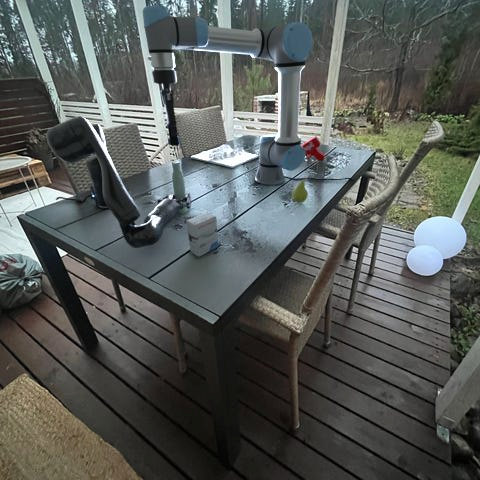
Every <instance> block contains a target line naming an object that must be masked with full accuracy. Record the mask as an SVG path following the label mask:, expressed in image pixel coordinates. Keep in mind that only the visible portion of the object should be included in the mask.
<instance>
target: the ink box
mask: <svg viewBox="0 0 480 480" xmlns="http://www.w3.org/2000/svg"><path fill="white" fill-rule="evenodd" d="M185 222H186V227H187V235H188V243H189V244H188V245H189V251H190V252H191V253H193V254H194V255H195V256H197V257H198V258H200V257H201V256H203V255H205V254H207V253H209V252H211V251H213V250H214V249H216V248H219V238H218V237H219V236H218V224H217V222H218V221H217V216H216V215H214V214H213V213H210V212H208V211H206V212H204V213H202V214H198V215H196V216H194V217H191V218H188V219H186V221H185Z"/></svg>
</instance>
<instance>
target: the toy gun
mask: <svg viewBox="0 0 480 480" xmlns="http://www.w3.org/2000/svg"><path fill="white" fill-rule="evenodd" d="M301 146H302V147H303V148H304V149H305V158H307V159H309V158H311V157H314V159H316V160H317V163H318V164H320V163H321V162H323V161H324V159H325V157H326V155H325V154H324V153H323V152H322V151H320V150H319V149H318V148H319V147H321V140H320V139H319V138H318V137H317V136H316V135H315V136H313V137H312V138H310V139H309V140H307V141H306V142H304V143H303V144H301ZM318 160H319V161H321V162H318Z"/></svg>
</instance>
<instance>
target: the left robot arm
mask: <svg viewBox="0 0 480 480" xmlns="http://www.w3.org/2000/svg"><path fill="white" fill-rule="evenodd" d="M46 142H47V144H48V146H49V148H50V149H51V151H52V152H53V153H54V155H56V156H57V158H59V159H60V160H62V161H63V162H65V163H69V164H74V163H78V162H80V161H82V160H84V159H85V161H84V164H85V167H86V170H87V173H88V177H89V180H90V182H91V184H90V190H91V193H89V194H88V195H86V196H85V197H84V199H79V198H69V197H64V196H58V197H56V198H55V201H58V200H59V199H62V200H65V201H76V202H81V203H84V202H86V201H87V199H88V198H90V199H91V200H94V202H95V206H96V207H98V208H99V209H109V211H110V212H111V214H112V215H113V216H114V218H115V219H116V220H117V222H118V224H119V227H120V230H121V233H122V235H123V238H124V240H125V242H126V243H127V244H128V245H129V246H130V247H131V248H134V249H139V248H145V247H149V246H153V245H155V244H157V243H159V242H160V240H161V238H162V235H163V233H164V229H166V227H167V226H168V225H169V224H171V223H172V222H173V220H174V219H175V218H176V217H177V216H178V215H179V214H180V213H179V211H180V209H182V208H183V207H187V209H188V210H190V209H191V207H192V196H191V193H190V192H186V195H185V196H184V197H180V198H178V199H175V196H174V192H173V193H172V194H165V195H163V196H162V197H159V198H158V199H156V203H157V205H155V207H154V208H153V209H152V211H151V212H150V213H148V214H147V216H146V217H145V218H144V219H143V223H142V224H138V225H137V223H136V221H137V220H138V219H139V218H140V217H141V215H142V214H141V210H140V208H139V207H138V205H137V203H136V202H135V200H134V199H133V197H132V195H131V194H130V193H129V191H128V190H127V188H126V186H125V184H124V182H123V181H122V178H121V177H120V174H119V173H118V170H117V169H116V166H115V165H114V163H113V160H112V158H111V156H110V155H109V153H108V149H107V145H106V139H105V134H104V132H103V129H102V127H101V125H100V124H98V123H90V122H89V120H88V119H86V117H84V116H81V115H77V116H74V117H72V118H70V119H68V120H65V121H62V122H60V123H58V124H56V125H54V126H52V127H50V128H48V130H47V131H46ZM184 199H185V201H184Z"/></svg>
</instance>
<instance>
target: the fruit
mask: <svg viewBox="0 0 480 480" xmlns="http://www.w3.org/2000/svg"><path fill="white" fill-rule="evenodd" d="M305 178H306V179H305V180H300V182H298V184H297V185H296V186H295V187H294V188H293V190H292V191H291V198H292V200H293V201H294V202H295V203H297V204H301V203H304V202H305V201H306V200H307V198H308V196H309V195H308V190H307V189H306V184H305V183H306V180H308V179H307V178H311V175H310V174H309V175H308V176H307V177H305Z"/></svg>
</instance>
